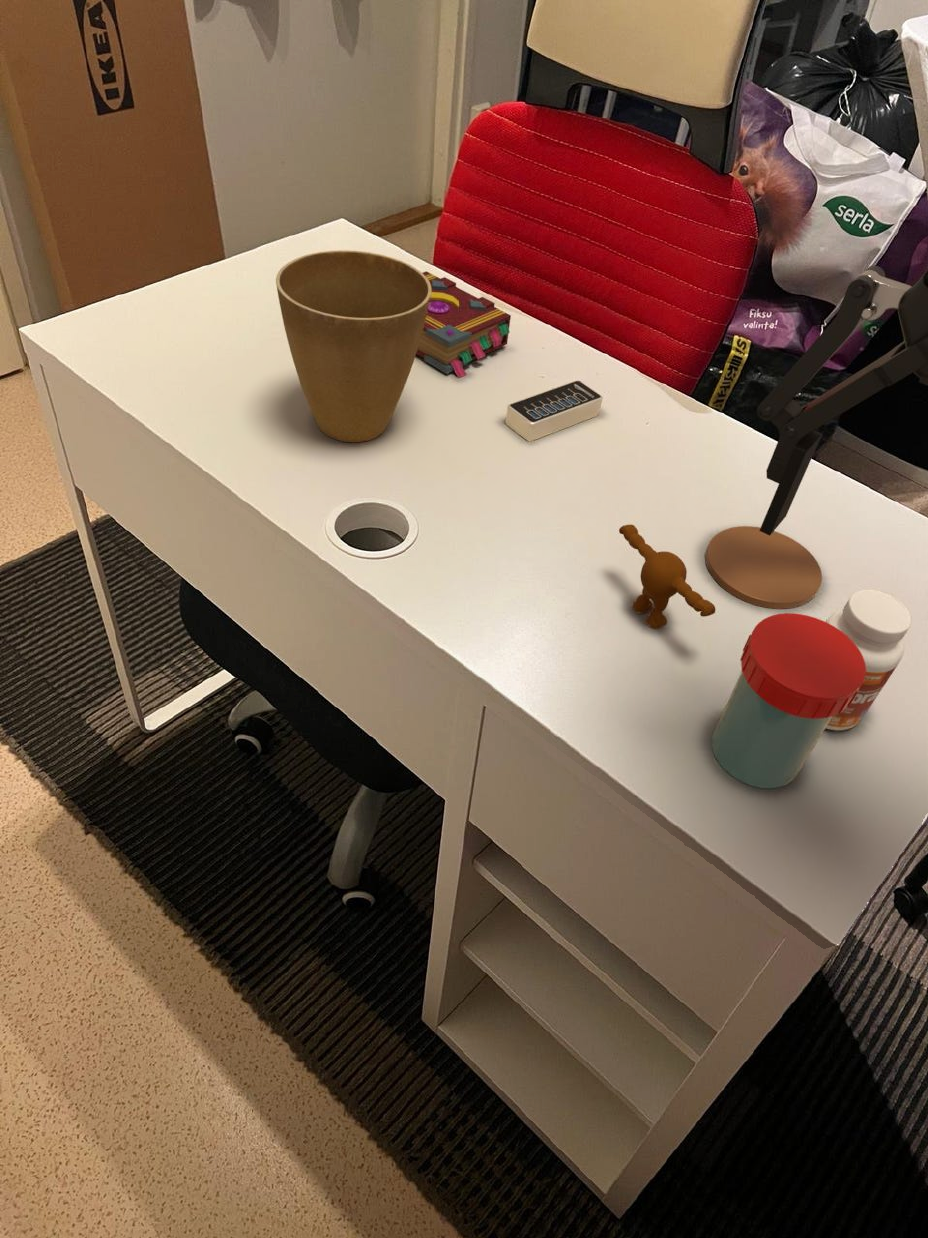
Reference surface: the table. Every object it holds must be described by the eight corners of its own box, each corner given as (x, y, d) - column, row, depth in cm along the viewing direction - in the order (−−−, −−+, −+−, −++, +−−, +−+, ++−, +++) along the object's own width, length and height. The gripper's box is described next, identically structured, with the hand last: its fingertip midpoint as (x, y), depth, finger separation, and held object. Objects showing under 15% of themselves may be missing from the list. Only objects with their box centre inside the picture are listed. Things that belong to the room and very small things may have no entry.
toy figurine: (708, 653, 78) (732, 597, 74) (675, 666, 77) (697, 609, 72) (627, 567, 85) (644, 511, 81) (595, 578, 84) (610, 521, 79)
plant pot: (394, 477, 92) (400, 332, 81) (260, 442, 94) (248, 295, 83) (439, 405, 102) (451, 267, 91) (318, 374, 104) (314, 236, 93)
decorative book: (424, 301, 119) (427, 264, 116) (515, 351, 112) (521, 313, 109) (360, 326, 113) (361, 288, 110) (452, 380, 106) (456, 341, 103)
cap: (877, 702, 64) (891, 681, 62) (786, 732, 61) (798, 711, 59) (805, 623, 69) (816, 602, 67) (718, 648, 66) (727, 626, 64)
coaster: (842, 594, 86) (846, 588, 85) (749, 620, 82) (752, 613, 81) (772, 523, 92) (775, 517, 92) (683, 544, 89) (685, 537, 88)
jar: (818, 773, 70) (877, 682, 62) (745, 799, 68) (797, 707, 60) (764, 707, 75) (813, 613, 67) (694, 729, 72) (736, 635, 64)
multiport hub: (503, 422, 101) (506, 404, 99) (574, 396, 106) (578, 378, 105) (529, 442, 99) (532, 424, 97) (600, 414, 104) (604, 397, 102)
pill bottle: (818, 741, 73) (876, 648, 65) (772, 686, 76) (821, 591, 68) (877, 722, 75) (940, 629, 67) (829, 668, 78) (883, 575, 71)
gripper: (1341, 268, 39) (1059, 619, 55) (836, 122, 48) (716, 462, 64) (1339, 326, 35) (1033, 690, 51) (782, 153, 44) (667, 510, 59)
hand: (856, 563), depth 57 cm, fingers open, 11 cm apart
